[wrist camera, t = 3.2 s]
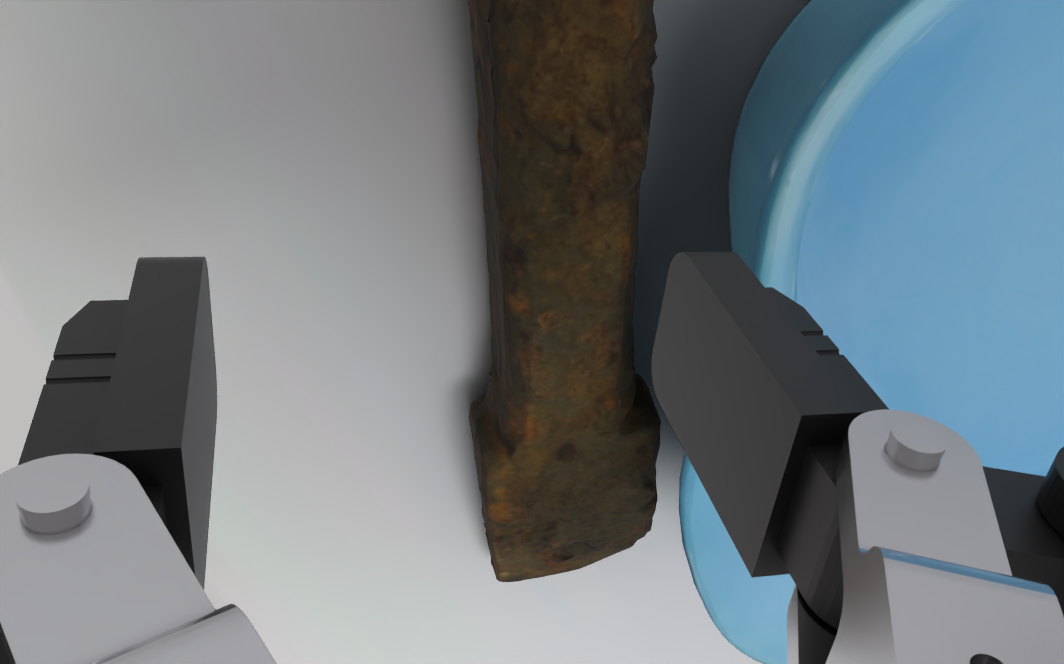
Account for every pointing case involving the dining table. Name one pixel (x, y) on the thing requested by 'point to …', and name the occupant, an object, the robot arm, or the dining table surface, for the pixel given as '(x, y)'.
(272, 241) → the dining table surface
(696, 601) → the dining table surface
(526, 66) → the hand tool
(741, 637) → the casserole dish
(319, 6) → the dining table surface
